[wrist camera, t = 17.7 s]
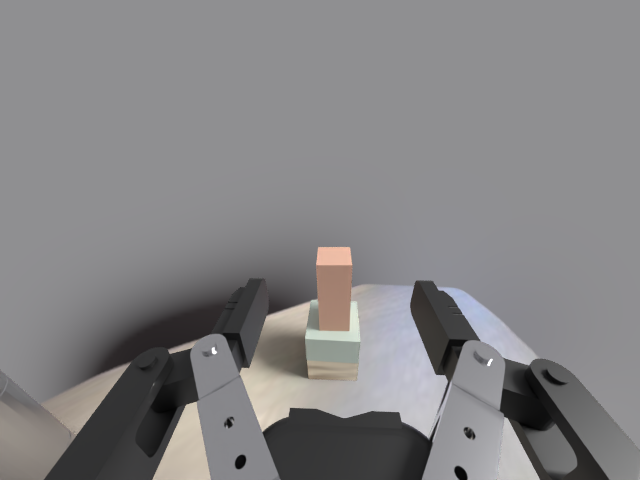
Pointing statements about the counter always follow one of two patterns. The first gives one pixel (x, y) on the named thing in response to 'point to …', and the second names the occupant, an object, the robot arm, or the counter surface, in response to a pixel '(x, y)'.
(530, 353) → the counter surface
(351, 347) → the tower top block
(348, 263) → the peach block
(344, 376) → the tower base block
